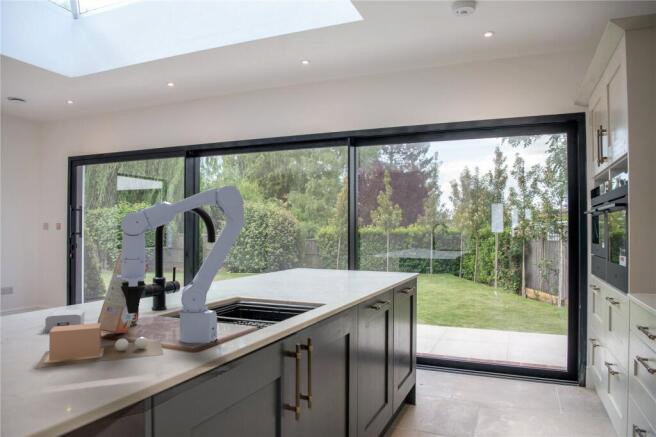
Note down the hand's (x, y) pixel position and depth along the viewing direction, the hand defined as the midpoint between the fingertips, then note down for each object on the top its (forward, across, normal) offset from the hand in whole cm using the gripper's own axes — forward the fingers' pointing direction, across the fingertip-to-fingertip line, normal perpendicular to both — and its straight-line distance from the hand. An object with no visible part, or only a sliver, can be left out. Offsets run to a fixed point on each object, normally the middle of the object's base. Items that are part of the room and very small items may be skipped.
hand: (132, 310), depth 114 cm
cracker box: (+8, -10, -5) cm, 14 cm away
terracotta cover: (+8, +7, -12) cm, 16 cm away
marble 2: (+7, +7, +2) cm, 10 cm away
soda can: (+10, -29, -2) cm, 30 cm away
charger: (+10, -36, -19) cm, 42 cm away
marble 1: (+7, +7, -2) cm, 10 cm away
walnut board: (+10, +7, -6) cm, 13 cm away
